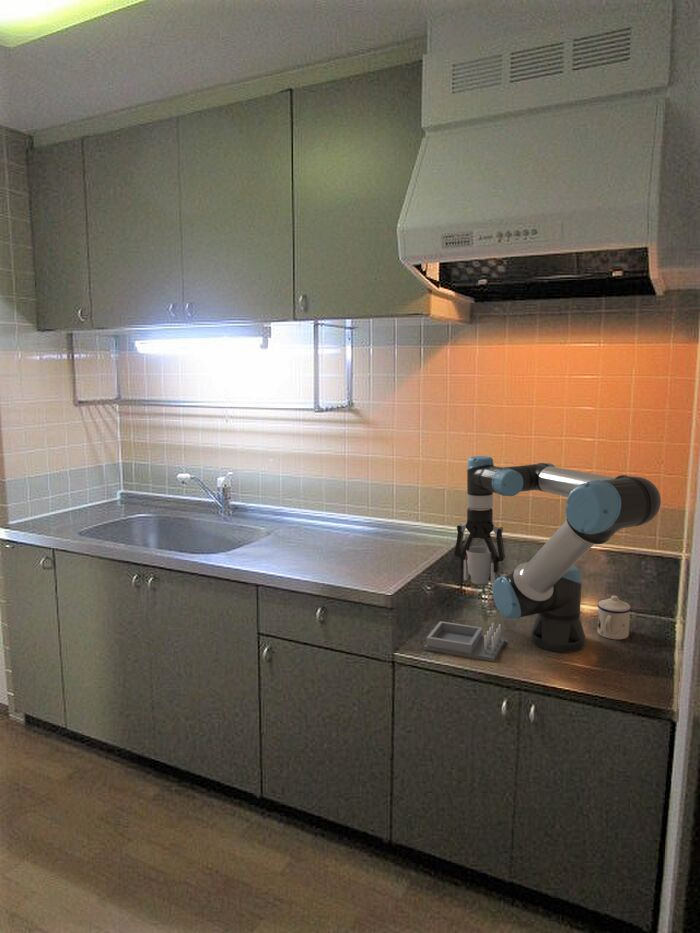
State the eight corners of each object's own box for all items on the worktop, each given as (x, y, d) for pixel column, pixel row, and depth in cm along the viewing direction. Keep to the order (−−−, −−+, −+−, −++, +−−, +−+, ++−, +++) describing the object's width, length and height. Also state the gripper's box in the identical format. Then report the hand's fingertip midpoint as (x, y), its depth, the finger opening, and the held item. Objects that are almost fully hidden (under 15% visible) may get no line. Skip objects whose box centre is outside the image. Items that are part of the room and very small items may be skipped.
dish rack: (505, 641, 191) (505, 622, 190) (494, 661, 179) (494, 641, 178) (438, 631, 199) (438, 612, 198) (424, 649, 187) (424, 629, 186)
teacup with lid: (601, 625, 201) (602, 589, 199) (632, 632, 196) (634, 594, 194) (590, 639, 192) (591, 601, 190) (622, 646, 186) (624, 607, 184)
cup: (474, 575, 207) (474, 544, 205) (497, 580, 201) (498, 548, 200) (461, 582, 200) (461, 550, 199) (484, 587, 195) (485, 555, 194)
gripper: (516, 507, 196) (515, 580, 200) (450, 502, 205) (450, 573, 209) (511, 512, 190) (510, 588, 193) (443, 507, 198) (443, 580, 202)
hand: (479, 580), depth 201 cm, fingers closed on cup, 8 cm apart
